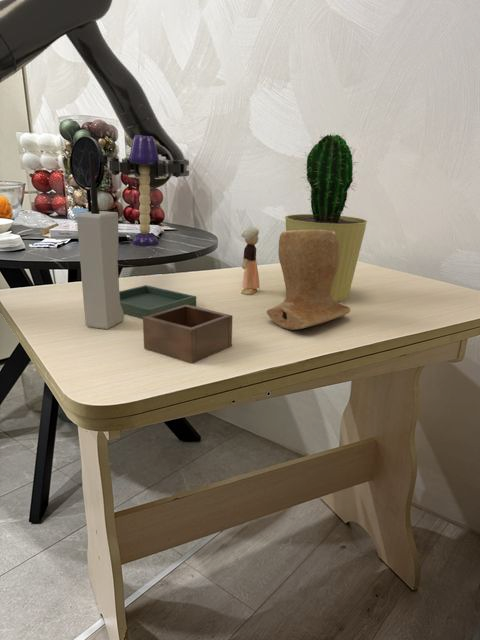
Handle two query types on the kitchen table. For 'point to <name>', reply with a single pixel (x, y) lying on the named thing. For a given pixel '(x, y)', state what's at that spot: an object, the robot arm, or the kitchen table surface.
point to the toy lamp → (144, 185)
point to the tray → (152, 300)
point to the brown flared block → (308, 279)
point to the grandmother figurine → (250, 261)
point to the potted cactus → (332, 206)
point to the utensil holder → (99, 262)
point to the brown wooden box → (187, 332)
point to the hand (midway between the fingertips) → (142, 168)
